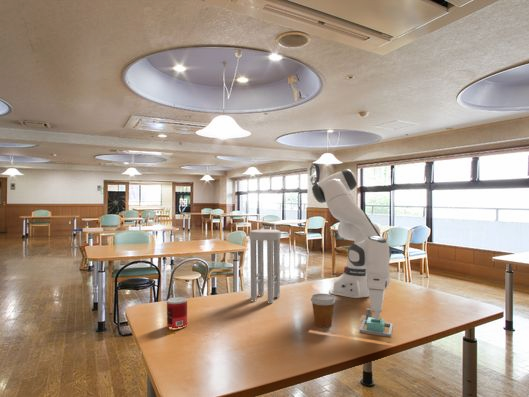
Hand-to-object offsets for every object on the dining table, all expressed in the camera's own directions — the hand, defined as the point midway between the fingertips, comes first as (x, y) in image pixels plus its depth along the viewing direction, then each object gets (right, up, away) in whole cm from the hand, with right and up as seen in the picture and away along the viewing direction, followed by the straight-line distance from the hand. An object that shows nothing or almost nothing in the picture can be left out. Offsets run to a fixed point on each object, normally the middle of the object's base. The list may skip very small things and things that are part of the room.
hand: (378, 314), depth 127 cm
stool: (-43, -7, +42) cm, 61 cm away
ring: (-1, -6, 0) cm, 6 cm away
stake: (0, -6, +11) cm, 12 cm away
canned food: (-79, -7, +7) cm, 80 cm away
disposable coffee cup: (-20, -7, +5) cm, 22 cm away
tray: (-1, -6, 0) cm, 6 cm away
